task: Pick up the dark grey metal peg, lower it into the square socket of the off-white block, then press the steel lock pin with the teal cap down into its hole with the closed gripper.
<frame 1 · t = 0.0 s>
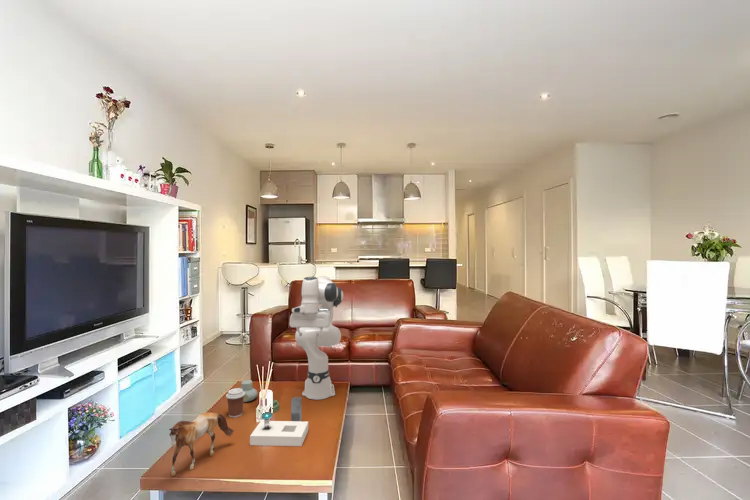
hand: (309, 336, 194), 39 cm above the table, tool pointing down, fingers open, 8 cm apart
decorative artifact: (269, 410, 198), on the table
horse figurine: (205, 462, 151), on the table
lock pin: (266, 421, 170), point 7 cm above the table, slide at 0.0 cm
peg: (296, 423, 183), on the table
coffee cup: (235, 414, 193), on the table
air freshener: (247, 400, 211), on the table
socket block: (280, 437, 170), on the table
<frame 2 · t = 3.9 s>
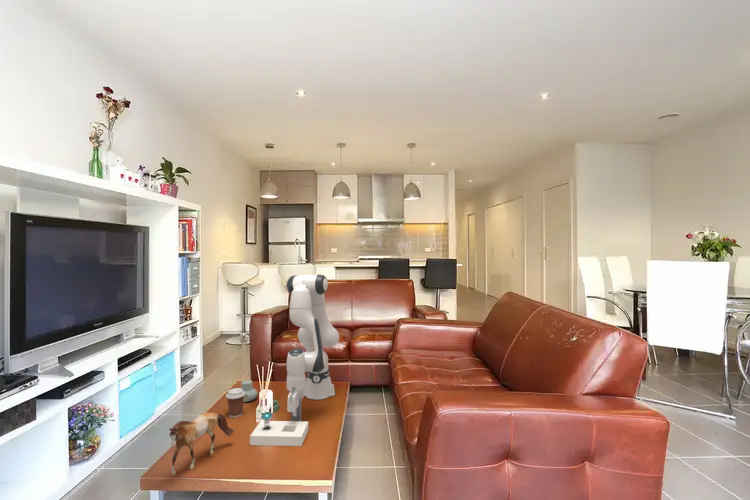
hand: (296, 413, 183), 5 cm above the table, tool pointing down, fingers closed on peg, 4 cm apart
peg: (296, 423, 183), on the table, touching gripper
everything else where it was.
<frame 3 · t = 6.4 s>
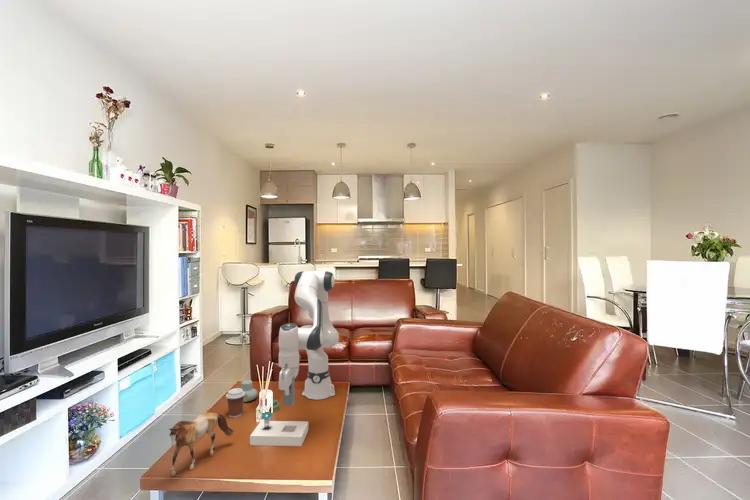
hand: (289, 392, 169), 20 cm above the table, tool pointing down, fingers closed on peg, 4 cm apart
peg: (289, 403, 169), point 15 cm above the table, touching gripper
everything else where it was.
when the fingers open (7 cm above the table, at t = 9.0 s): peg drops 1 cm, resting in socket block.
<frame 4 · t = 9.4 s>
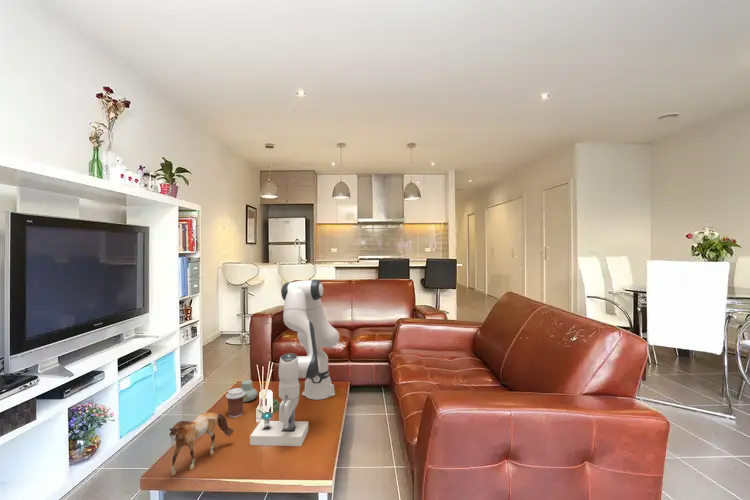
hand: (289, 422, 170), 7 cm above the table, tool pointing down, fingers open, 8 cm apart
peg: (289, 437, 170), resting in socket block
everything else where it was.
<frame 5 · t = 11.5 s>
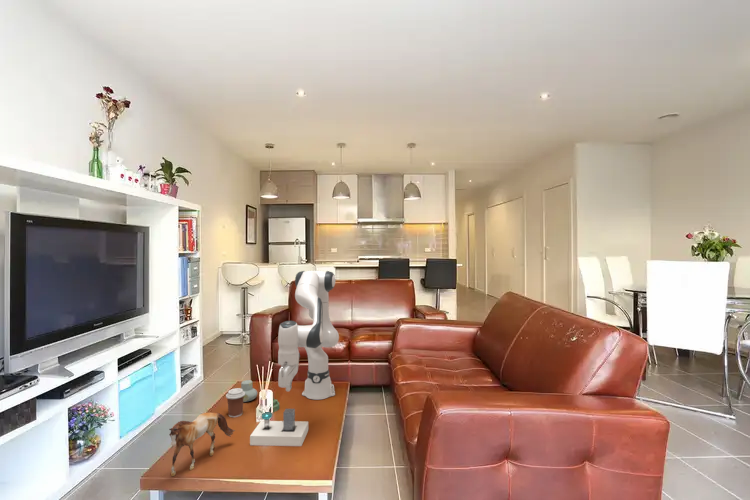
hand: (288, 390, 169), 21 cm above the table, tool pointing down, fingers closed
nothing on the table moved.
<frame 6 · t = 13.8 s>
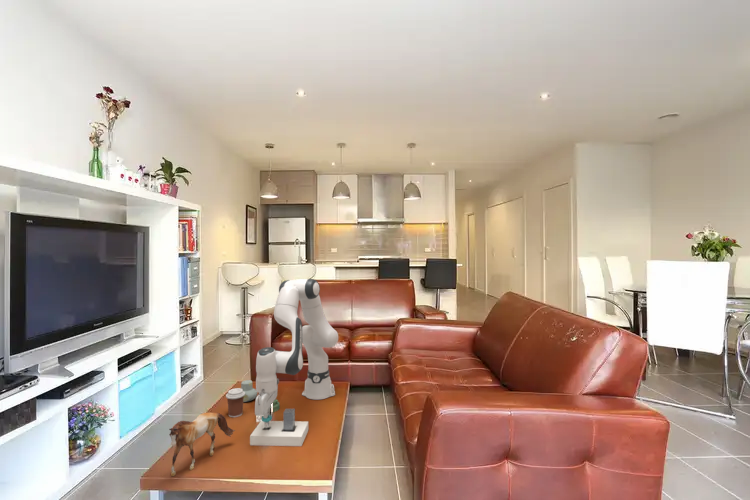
hand: (266, 416, 170), 9 cm above the table, tool pointing down, fingers closed, pressing on lock pin
lock pin: (266, 423, 170), point 6 cm above the table, slide at 1.1 cm, touching gripper
everything else where it was.
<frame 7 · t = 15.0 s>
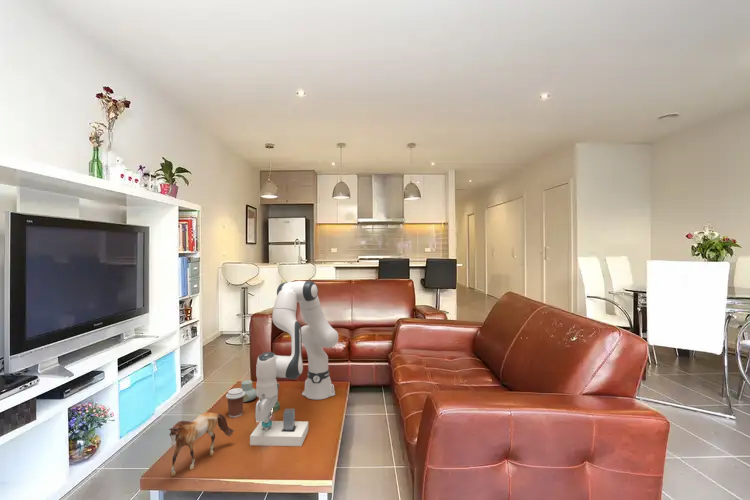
hand: (267, 421, 170), 7 cm above the table, tool pointing down, fingers closed
lock pin: (266, 429, 170), point 3 cm above the table, slide at 3.5 cm
everything else where it was.
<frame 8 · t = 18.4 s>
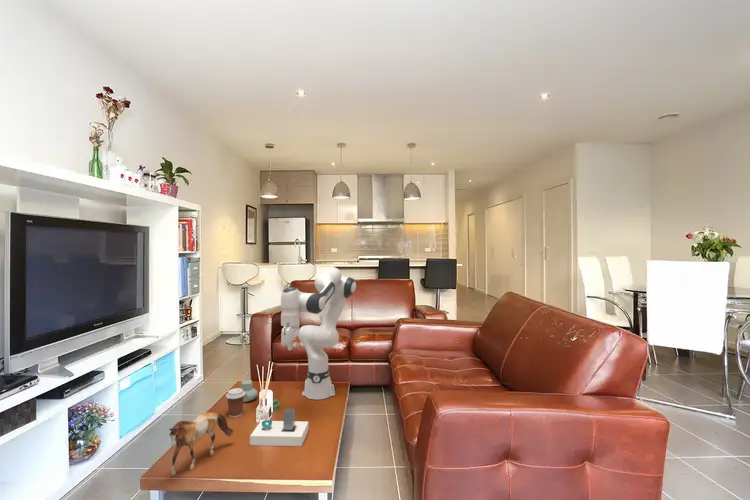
hand: (290, 349, 187), 34 cm above the table, tool pointing down, fingers closed
at the end: peg 0.0 cm from the target spot on the socket block, point 0.0 cm above the socket block's base; peg tilted 0°; lock pin slide at 3.5 cm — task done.
